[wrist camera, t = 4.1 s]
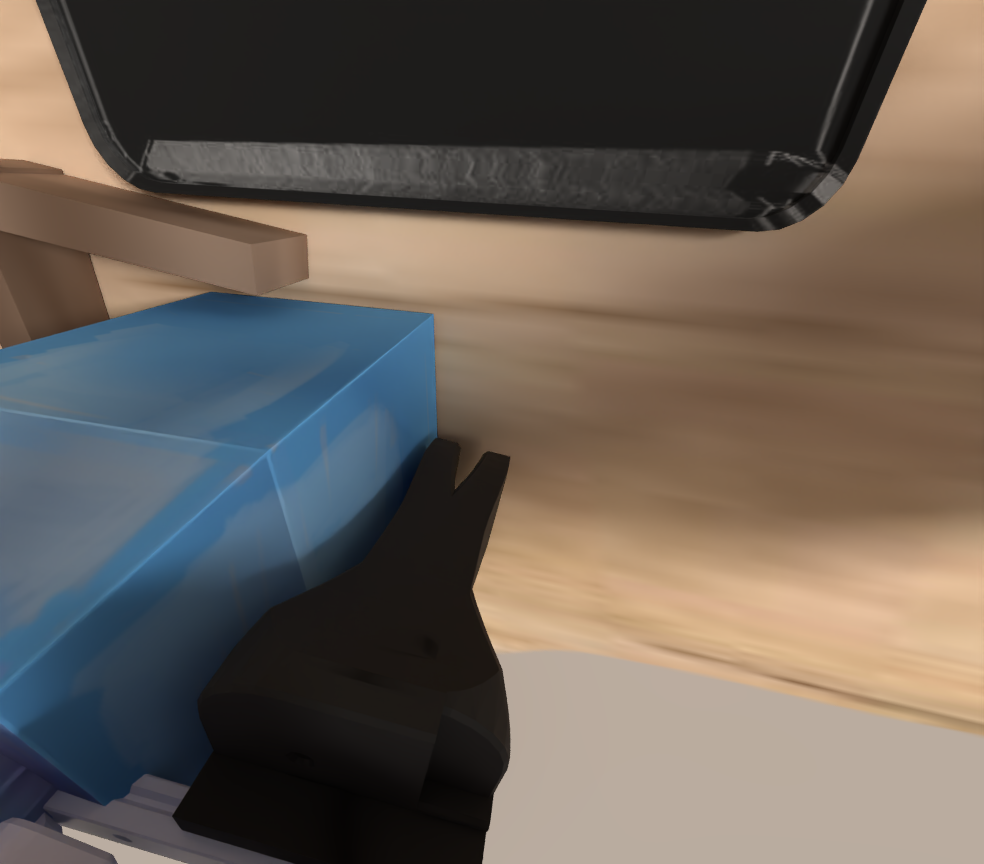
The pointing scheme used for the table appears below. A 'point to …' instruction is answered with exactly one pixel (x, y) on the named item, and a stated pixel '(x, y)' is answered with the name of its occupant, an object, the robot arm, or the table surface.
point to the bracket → (117, 248)
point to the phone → (489, 101)
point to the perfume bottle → (181, 514)
